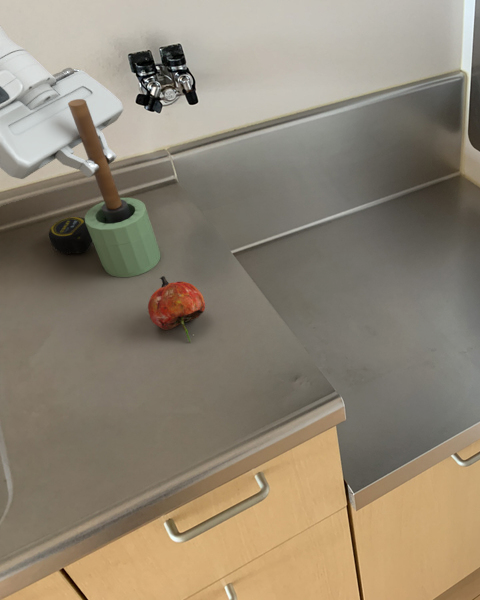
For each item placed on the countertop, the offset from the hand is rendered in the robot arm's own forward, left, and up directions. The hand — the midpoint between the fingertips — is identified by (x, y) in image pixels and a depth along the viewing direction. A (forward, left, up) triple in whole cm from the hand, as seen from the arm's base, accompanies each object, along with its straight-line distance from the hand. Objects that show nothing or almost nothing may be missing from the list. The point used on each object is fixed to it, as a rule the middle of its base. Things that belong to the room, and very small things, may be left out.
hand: (103, 167), depth 87 cm
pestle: (0, 0, -12) cm, 12 cm away
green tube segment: (-1, 0, -16) cm, 16 cm away
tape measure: (-8, +8, -17) cm, 20 cm away
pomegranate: (+4, -19, -17) cm, 26 cm away
